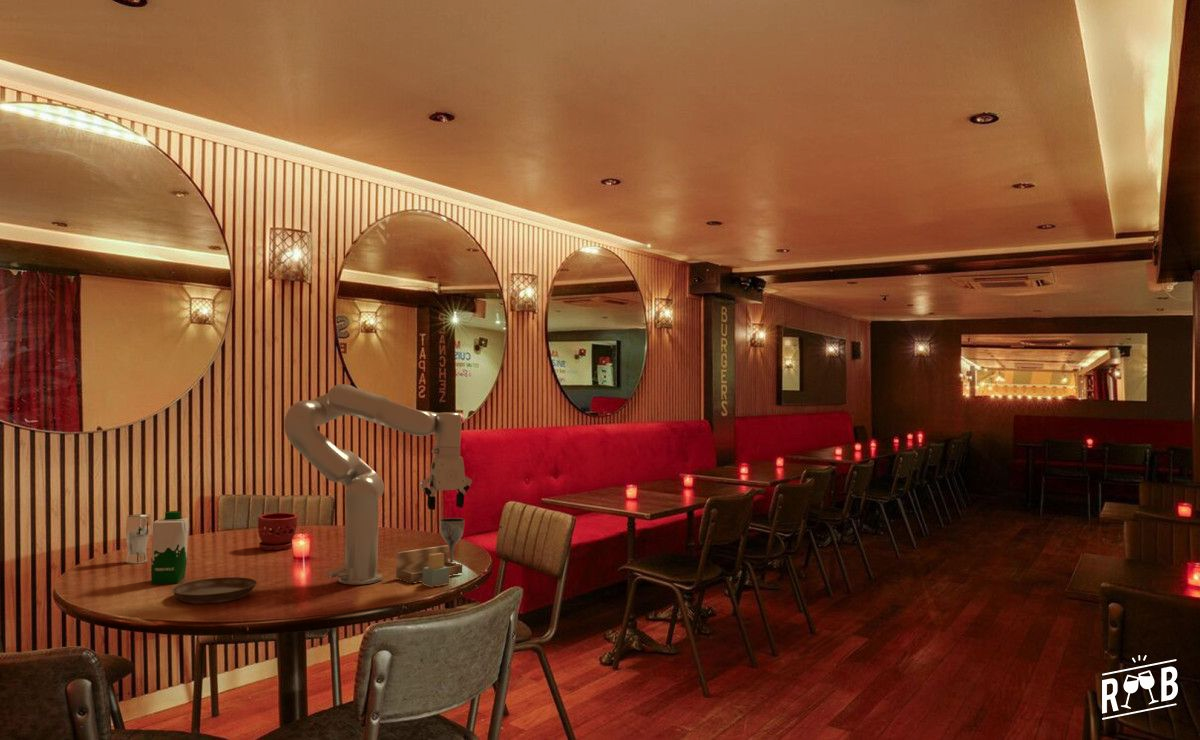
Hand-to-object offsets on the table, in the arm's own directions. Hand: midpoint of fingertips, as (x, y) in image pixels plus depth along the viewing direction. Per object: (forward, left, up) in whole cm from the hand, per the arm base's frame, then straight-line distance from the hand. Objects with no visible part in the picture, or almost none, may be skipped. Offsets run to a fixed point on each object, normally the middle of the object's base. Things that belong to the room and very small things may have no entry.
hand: (445, 508), depth 230 cm
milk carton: (-61, +52, -22) cm, 83 cm away
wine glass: (+14, +16, -22) cm, 30 cm away
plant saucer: (-57, +26, -22) cm, 66 cm away
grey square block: (-5, -3, -22) cm, 23 cm away
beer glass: (-60, +87, -22) cm, 108 cm away
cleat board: (-1, +6, -22) cm, 23 cm away
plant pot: (-17, +80, -22) cm, 85 cm away
